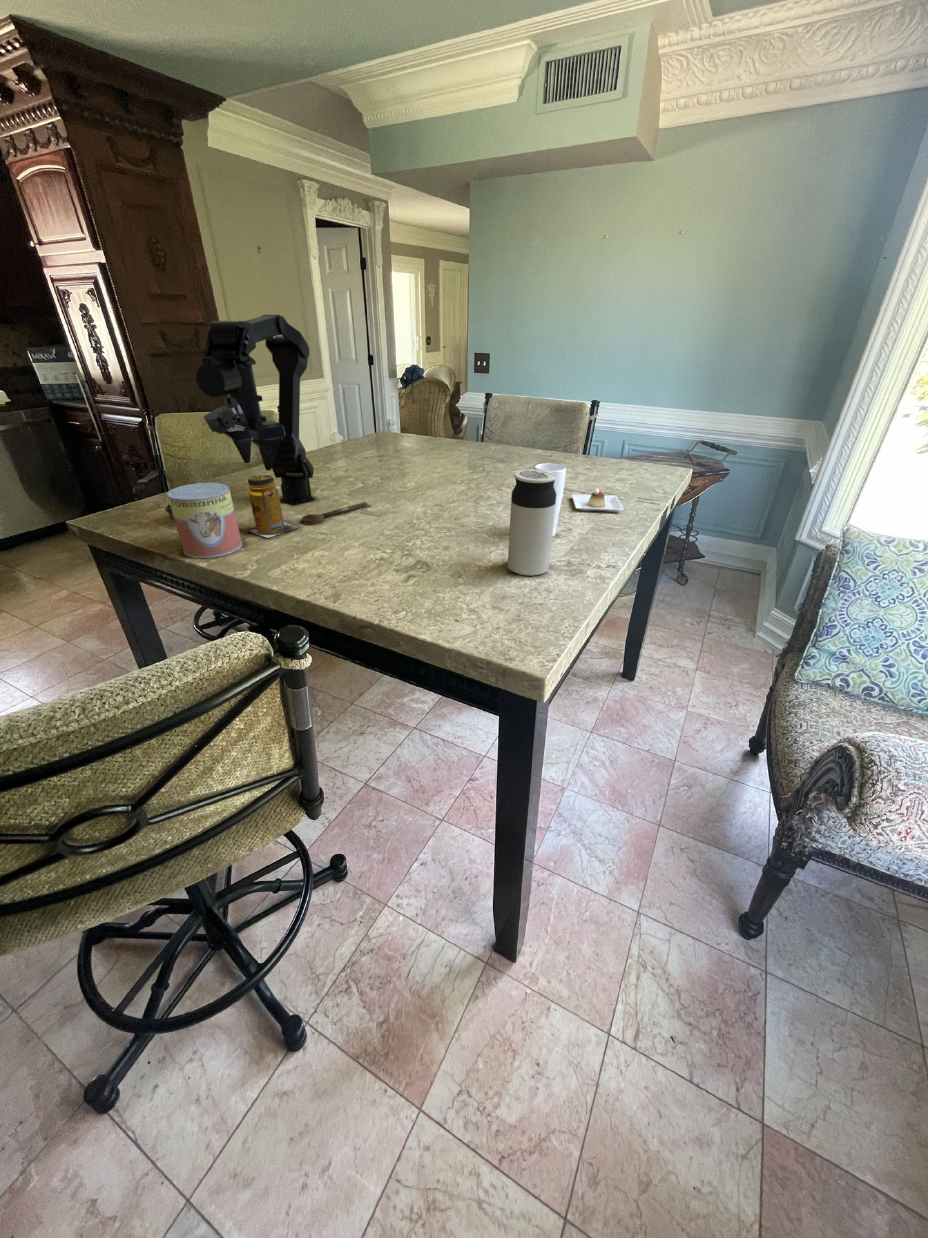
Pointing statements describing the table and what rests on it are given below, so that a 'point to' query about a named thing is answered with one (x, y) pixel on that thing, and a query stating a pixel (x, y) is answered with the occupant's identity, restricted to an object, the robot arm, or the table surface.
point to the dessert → (597, 502)
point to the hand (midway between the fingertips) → (257, 466)
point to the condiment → (266, 507)
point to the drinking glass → (555, 486)
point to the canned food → (205, 519)
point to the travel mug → (531, 522)
